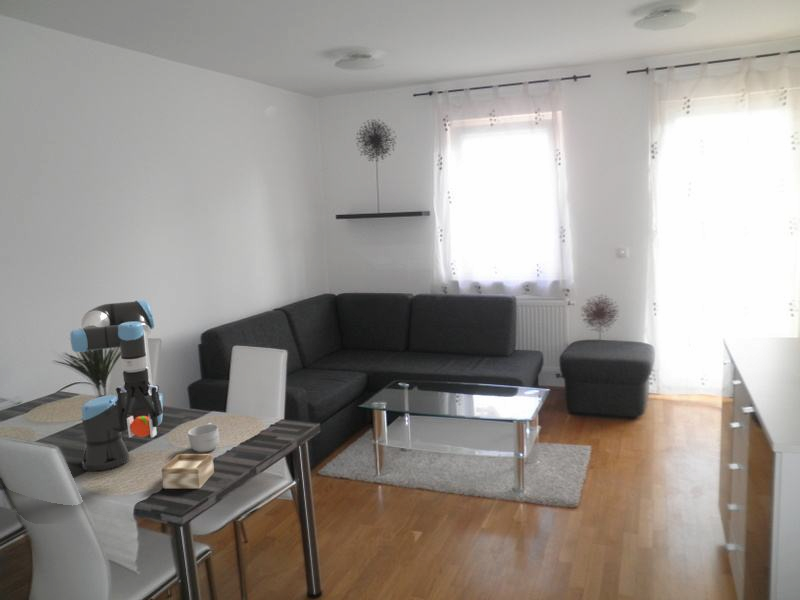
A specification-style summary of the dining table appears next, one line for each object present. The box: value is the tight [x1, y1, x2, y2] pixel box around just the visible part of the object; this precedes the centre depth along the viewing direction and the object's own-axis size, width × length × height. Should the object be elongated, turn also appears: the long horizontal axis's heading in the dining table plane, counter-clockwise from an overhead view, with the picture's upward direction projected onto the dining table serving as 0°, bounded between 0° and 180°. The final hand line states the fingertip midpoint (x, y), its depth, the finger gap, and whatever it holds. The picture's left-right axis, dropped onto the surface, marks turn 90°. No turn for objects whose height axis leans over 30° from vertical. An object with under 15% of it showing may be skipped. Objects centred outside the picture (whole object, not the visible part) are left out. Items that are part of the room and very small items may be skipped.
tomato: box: [131, 416, 150, 438], centre depth 209 cm, size 8×7×7 cm
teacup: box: [187, 422, 220, 454], centre depth 233 cm, size 14×11×8 cm
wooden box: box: [161, 453, 215, 489], centre depth 206 cm, size 12×12×6 cm
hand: (142, 435), depth 209 cm, fingers closed on tomato, 7 cm apart
